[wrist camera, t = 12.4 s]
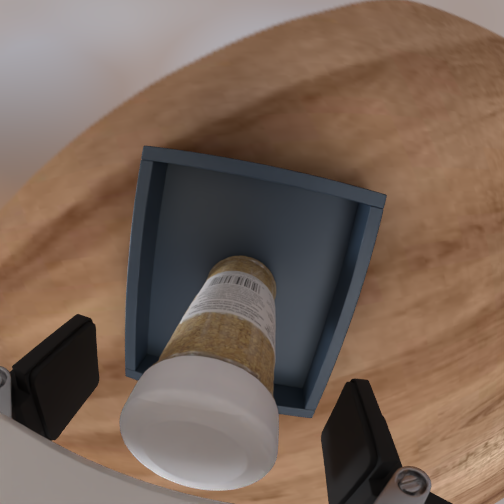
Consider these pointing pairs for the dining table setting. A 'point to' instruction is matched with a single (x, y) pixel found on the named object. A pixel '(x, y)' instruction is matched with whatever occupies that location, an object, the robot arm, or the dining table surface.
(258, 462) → the sprinkles bottle
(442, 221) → the dining table surface
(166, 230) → the tray
